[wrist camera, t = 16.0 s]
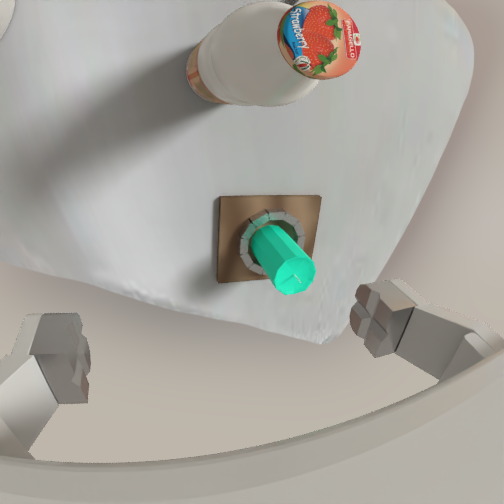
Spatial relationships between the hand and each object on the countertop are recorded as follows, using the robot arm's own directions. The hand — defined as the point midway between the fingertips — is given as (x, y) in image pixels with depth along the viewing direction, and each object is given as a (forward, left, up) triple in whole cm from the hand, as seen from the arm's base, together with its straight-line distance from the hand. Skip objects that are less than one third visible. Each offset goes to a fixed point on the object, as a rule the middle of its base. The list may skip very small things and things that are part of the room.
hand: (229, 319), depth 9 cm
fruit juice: (+7, +10, -38) cm, 39 cm away
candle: (+16, -16, -36) cm, 43 cm away
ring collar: (+16, -15, -37) cm, 43 cm away
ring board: (+16, -15, -37) cm, 43 cm away
